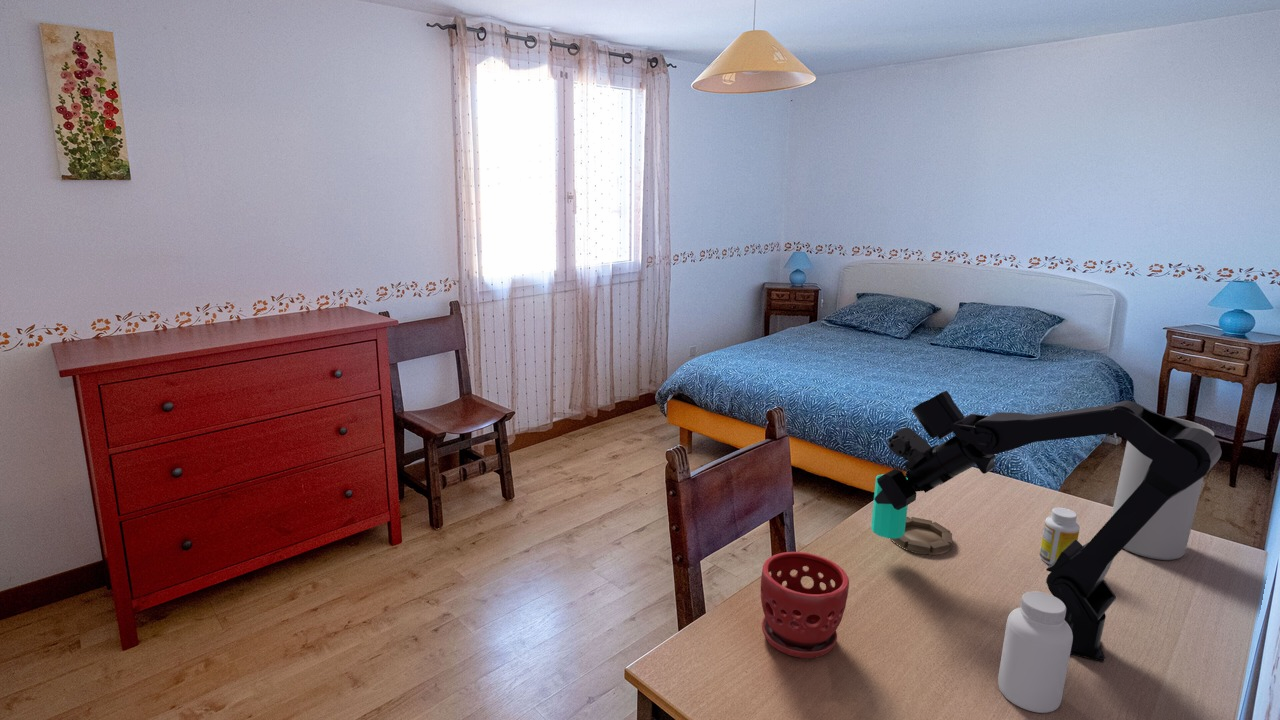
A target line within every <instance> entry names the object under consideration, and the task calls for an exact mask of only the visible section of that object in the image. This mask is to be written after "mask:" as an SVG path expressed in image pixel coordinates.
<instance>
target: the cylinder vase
mask: <svg viewBox="0 0 1280 720" xmlns="http://www.w3.org/2000/svg"><path fill="white" fill-rule="evenodd" d="M1165 416H1166V417H1169V418H1172V419H1174V420H1176V421H1178V422H1180V423H1182V424H1184V425H1186V426H1187V427H1189V428H1197V429H1202V430H1204V431H1207V432H1209V433H1210V434H1212V435H1213V436H1214V437H1215V432H1214V431H1213V430H1212V429H1210V428H1209V427H1207V426H1205V425H1202V424H1201V423H1197V422H1194V421H1190V420H1186V419H1185V418H1184V419H1182V418H1178V417H1174V416H1168V415H1165ZM1151 462H1152V459H1150V458H1148V457H1147V456H1145V455H1143V454H1142V453H1141V452H1140V451H1139V450H1137V449H1136V448H1135V447H1134V446H1133V445H1132V444H1131V443H1130V442H1128V441H1127V440H1126V444H1125V449H1124V455H1123V459H1122V464H1121V469H1120V473H1119V474H1120V475H1119V479H1118V482H1117V488H1116V493H1115V497H1114V501H1113V507H1112V512H1111V517H1112V516H1113V515H1114V514H1115V513H1116V511H1117V510H1118V509H1119V508H1120V507H1121V506H1122V505H1123V504H1124V502H1125V501H1126V500H1127V499H1128V498H1129V497H1130V496H1131V495H1132V493H1133V492H1134V491H1135V490H1136V489H1137V488H1138V487H1139V486H1140V484H1141V483H1142V481H1143V480H1144V477H1145V475H1146V473H1147V470H1148V468H1149V466H1150V464H1151ZM1204 477H1205V476H1204ZM1204 477H1202V478H1201V479H1199V480H1198V481H1196V482H1195V483H1194V484H1192V485H1191V486H1189V487H1188V488H1186V489H1185V490H1183V491H1182V492H1180V493H1178V494H1177V495H1175V496H1173V497H1172V498H1170V499H1169V500H1167V501H1166V502H1165V504H1164V505H1163V506H1162V507H1161V508H1160V509H1159V510H1158V511H1157V512H1156V513H1155V514H1154V515H1153V516H1152V517H1151V519H1150V520H1149V521H1148V522H1147V523H1146V524H1145V525H1144V526H1143V527H1142V528H1141V529H1140V530H1139V531H1138V532H1137V534H1136V535H1135V536H1134V537H1133V538H1132V539H1131V540H1130V541H1129V542H1128V543H1127V544H1126V545H1125V546H1124V547H1123V549H1124V550H1126V551H1127V552H1130V553H1132V554H1135V555H1138V556H1140V557H1141V556H1142V557H1143V558H1147V559H1151V560H1152V559H1153V560H1161V561H1171V560H1177V559H1180V558H1182V557H1183V556H1184V555H1185V554H1186V551H1187V546H1188V543H1189V538H1190V534H1191V529H1192V526H1193V522H1194V518H1195V514H1196V510H1197V506H1198V502H1199V497H1200V494H1201V489H1202V486H1203V481H1204ZM1111 517H1110V518H1111ZM1123 549H1122V550H1123Z"/></svg>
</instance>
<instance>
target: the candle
mask: <svg viewBox="0 0 1280 720" xmlns="http://www.w3.org/2000/svg"><path fill="white" fill-rule="evenodd" d="M884 474H885V473H883V474H878V475H877V476H875V483H874V484H875V485H874V494H873V505H872V514H871V515H872V517H871V527H870V529H871V530H872V532H873V533H874V534H876V535H877V536H879V537H883V538H886V539H889V538H894V539H897V538H900V537H903V535H904V533H905V525H906V517H908V516H907V515H908V505H909V504H908V505H907V506H905V507H903V508H901V509H899V510H897V509H895V508H894V507H893V505H892V504H877V503H876V501H875V499H874V498H875V497H876V496H877V495H878V494H879V493H880V492H881V490H882V489H881V487H880V486H879V484H878V483H877V478H879V477H881V476H882V475H884ZM907 480H908V478H907Z"/></svg>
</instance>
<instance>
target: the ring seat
mask: <svg viewBox="0 0 1280 720" xmlns="http://www.w3.org/2000/svg"><path fill="white" fill-rule="evenodd" d="M890 539H891V540H893V541H894V542H895V543H896V544H898V545H900V546H901V547H903V548H905V549H907V550H909V551H908V552H910V551H913V552H916V553H915V554H917V553H919V554H918V555H923V554H929V555H928V556H938V554H940V555H943V554H947V553H948V552H950V551H951V549H952V548H953V533H952V531H951V530H949V529H948V528H946V527H944V526H943V525H942V524H939V522H936V521H933V520H930V519H925V518H920V517H914V516H911V517H909V516H906V525H905V533H904V535H903V537H900V538H897V539H894V538H890ZM890 539H889V540H890ZM891 540H890V541H891ZM896 544H895V545H896ZM905 549H904V550H905ZM907 550H906V551H907ZM913 552H912V553H913Z"/></svg>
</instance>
